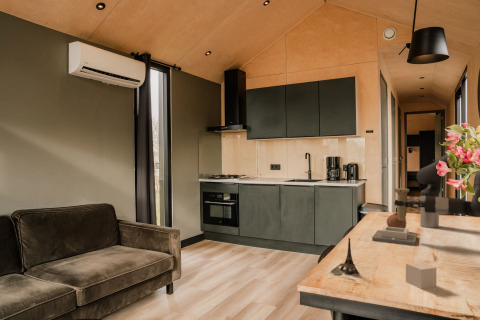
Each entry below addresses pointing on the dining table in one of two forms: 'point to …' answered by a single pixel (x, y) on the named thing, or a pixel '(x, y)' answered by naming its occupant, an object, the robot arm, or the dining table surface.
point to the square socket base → (395, 236)
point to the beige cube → (421, 275)
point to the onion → (395, 221)
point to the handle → (402, 197)
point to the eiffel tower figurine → (346, 265)
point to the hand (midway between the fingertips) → (395, 202)
